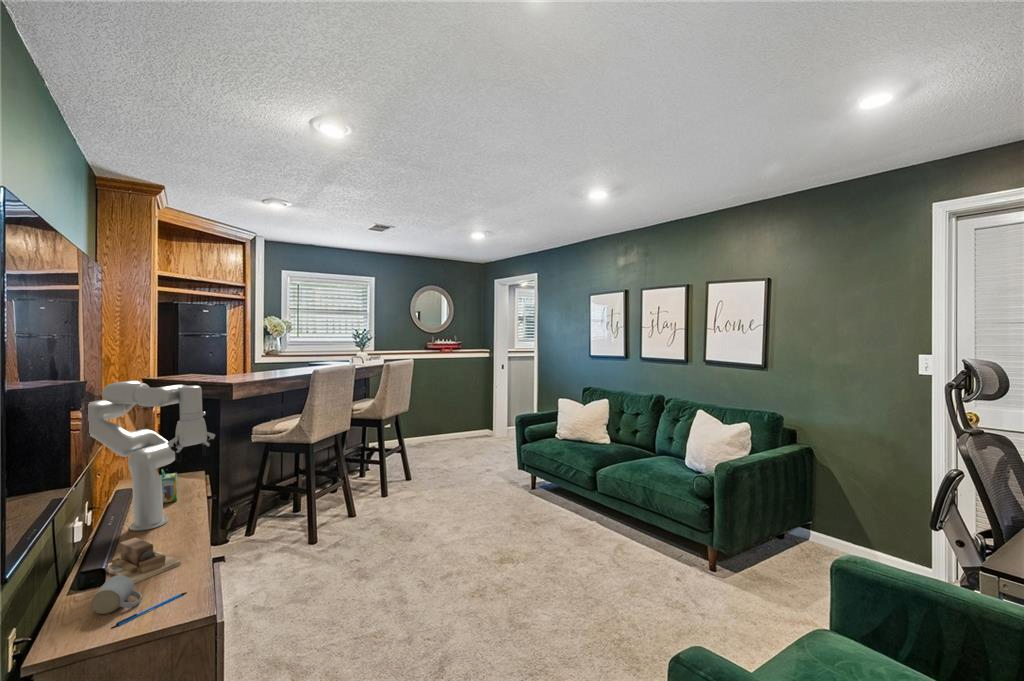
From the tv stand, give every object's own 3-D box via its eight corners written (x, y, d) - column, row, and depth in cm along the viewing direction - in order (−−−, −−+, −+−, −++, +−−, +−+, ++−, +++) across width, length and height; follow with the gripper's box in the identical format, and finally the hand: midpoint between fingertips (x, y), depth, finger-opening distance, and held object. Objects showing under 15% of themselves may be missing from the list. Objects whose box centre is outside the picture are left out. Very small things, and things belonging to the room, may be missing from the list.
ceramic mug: (88, 618, 132) (88, 591, 132) (104, 602, 140) (103, 576, 140) (134, 611, 135) (133, 585, 135) (146, 596, 143) (146, 570, 143)
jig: (102, 569, 159) (101, 557, 159) (150, 551, 171) (150, 540, 171) (132, 584, 149) (131, 571, 149) (180, 564, 162) (180, 552, 162)
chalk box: (176, 501, 221) (175, 470, 221) (152, 505, 217) (150, 473, 216) (179, 495, 229) (177, 465, 229) (155, 499, 225) (154, 468, 224)
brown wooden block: (120, 559, 163) (119, 542, 163) (136, 554, 167) (135, 537, 167) (141, 569, 156) (140, 551, 156) (156, 563, 160) (155, 545, 160)
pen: (110, 629, 128) (110, 625, 128) (186, 593, 145) (186, 589, 144) (112, 630, 127) (111, 626, 127) (188, 593, 144) (187, 590, 144)
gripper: (209, 412, 201) (210, 452, 201) (162, 419, 186) (163, 462, 187) (218, 414, 197) (219, 455, 197) (171, 421, 182) (172, 465, 183)
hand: (192, 458), depth 192 cm, fingers open, 9 cm apart
